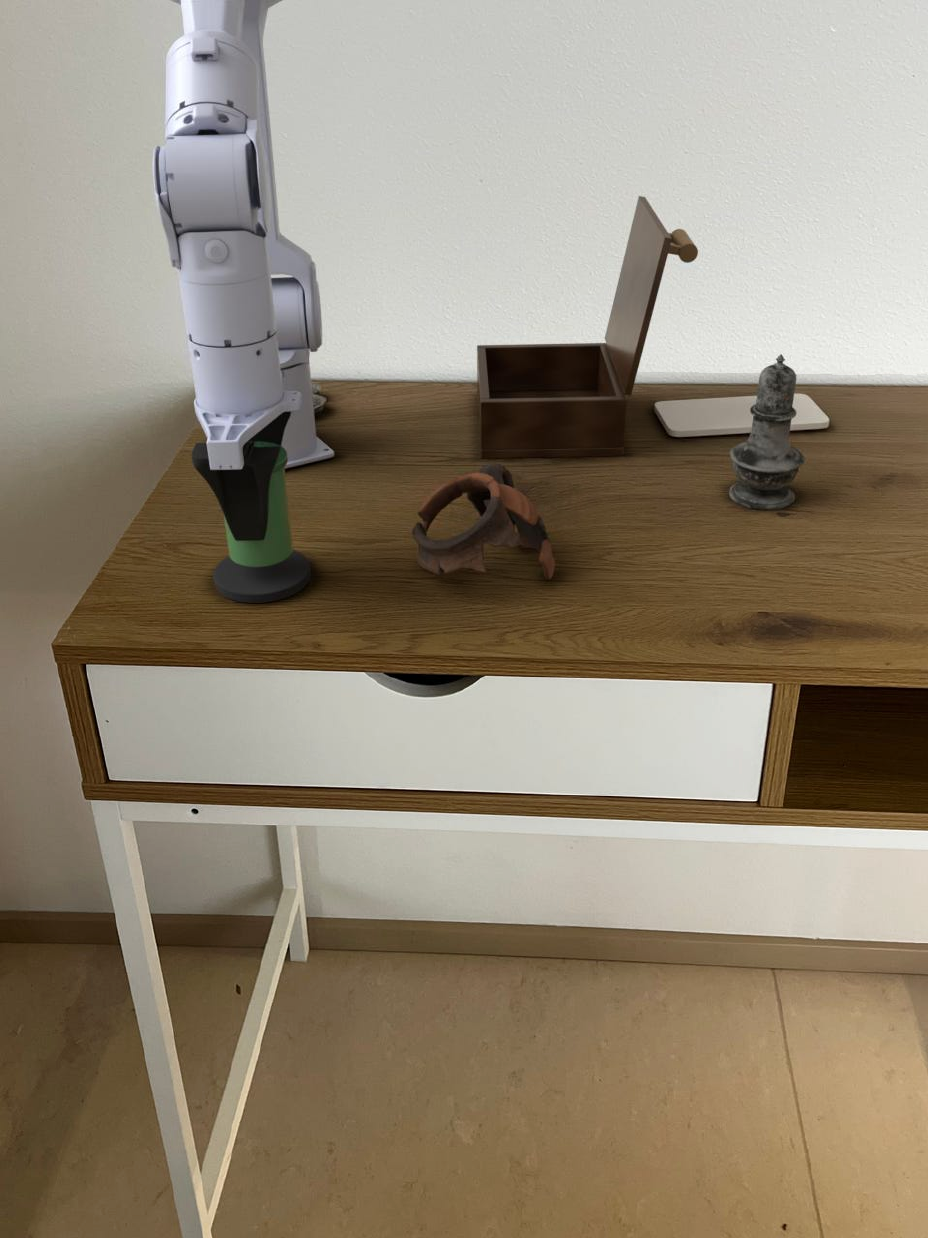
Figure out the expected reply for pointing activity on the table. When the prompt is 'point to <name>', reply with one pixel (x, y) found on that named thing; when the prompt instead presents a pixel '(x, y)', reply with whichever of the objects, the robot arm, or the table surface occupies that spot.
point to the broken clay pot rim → (482, 523)
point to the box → (549, 401)
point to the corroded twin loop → (317, 398)
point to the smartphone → (729, 415)
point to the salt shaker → (768, 444)
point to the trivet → (262, 579)
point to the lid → (641, 288)
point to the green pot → (278, 527)
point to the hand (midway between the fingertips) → (255, 520)
